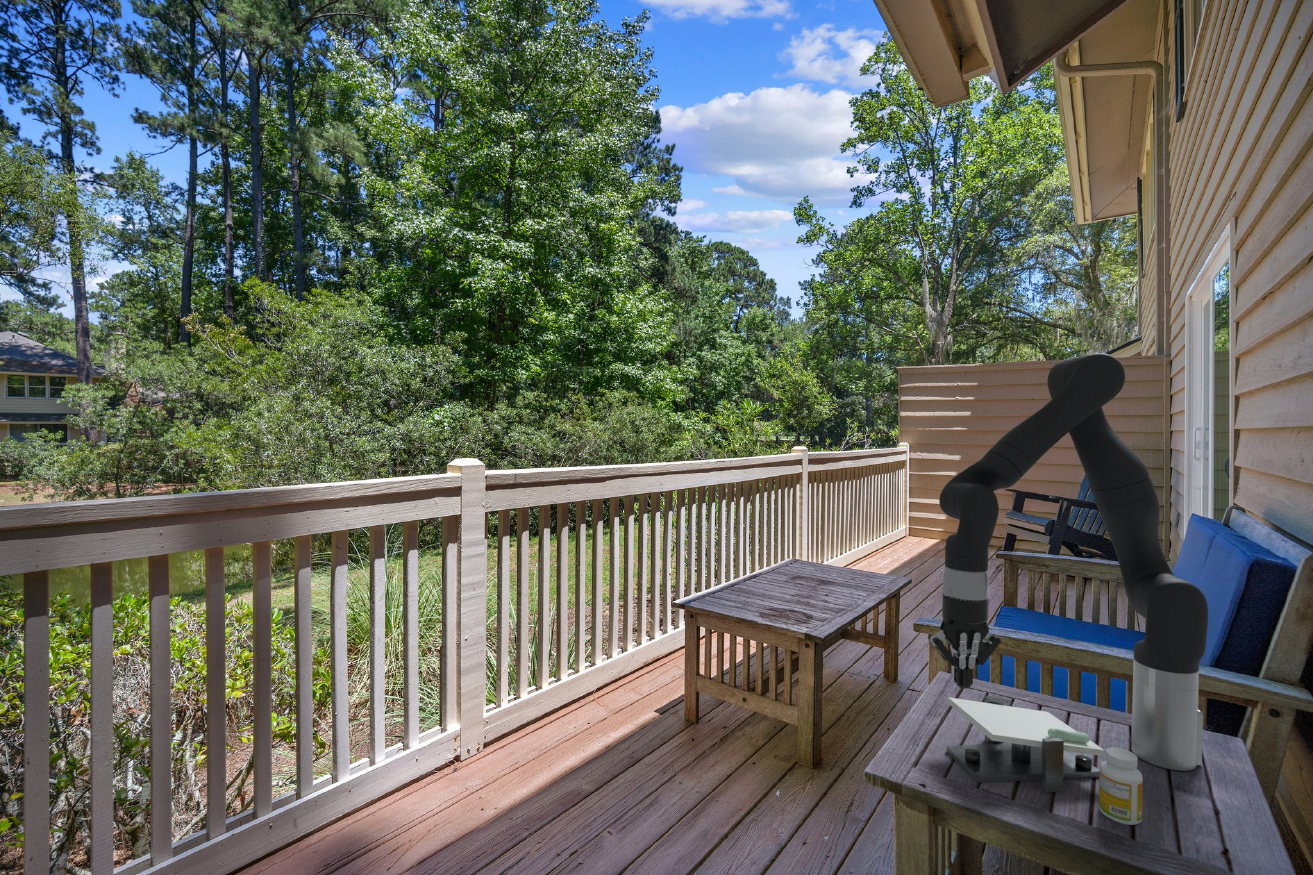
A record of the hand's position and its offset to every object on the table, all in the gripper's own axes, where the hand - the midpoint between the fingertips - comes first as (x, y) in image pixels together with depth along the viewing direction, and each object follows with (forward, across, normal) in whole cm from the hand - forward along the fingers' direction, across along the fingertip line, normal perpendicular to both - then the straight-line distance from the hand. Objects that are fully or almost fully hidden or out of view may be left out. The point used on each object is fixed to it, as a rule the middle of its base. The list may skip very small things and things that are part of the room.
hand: (962, 686), depth 115 cm
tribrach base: (+13, -9, +3) cm, 16 cm away
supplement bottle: (+13, -15, +18) cm, 27 cm away
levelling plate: (+6, -9, +3) cm, 11 cm away
